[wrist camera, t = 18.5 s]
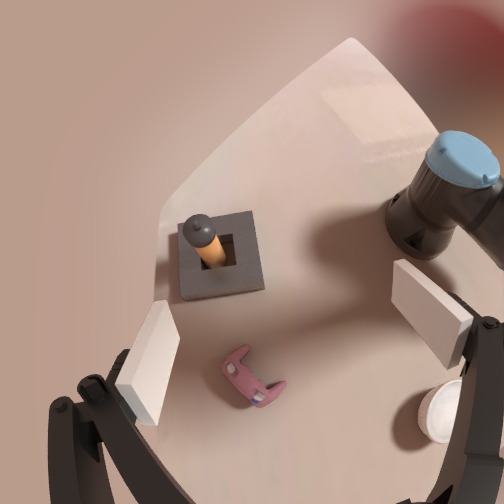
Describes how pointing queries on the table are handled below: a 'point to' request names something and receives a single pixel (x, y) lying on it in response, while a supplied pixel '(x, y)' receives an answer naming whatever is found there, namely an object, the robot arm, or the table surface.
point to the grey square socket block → (224, 278)
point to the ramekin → (439, 411)
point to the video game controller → (248, 380)
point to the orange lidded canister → (204, 240)
